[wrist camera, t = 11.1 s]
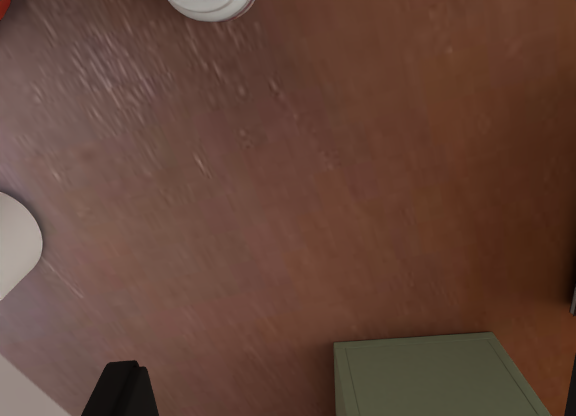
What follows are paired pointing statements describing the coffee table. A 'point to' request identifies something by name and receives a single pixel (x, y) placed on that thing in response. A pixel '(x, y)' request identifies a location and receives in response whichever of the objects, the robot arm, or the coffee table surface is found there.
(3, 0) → the apple
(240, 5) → the pill bottle
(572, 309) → the book
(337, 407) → the chest
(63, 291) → the coffee table surface
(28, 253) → the can
